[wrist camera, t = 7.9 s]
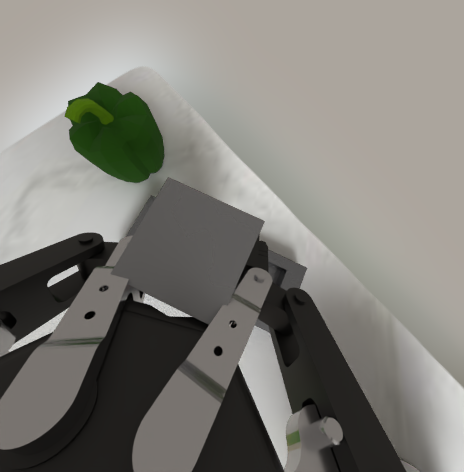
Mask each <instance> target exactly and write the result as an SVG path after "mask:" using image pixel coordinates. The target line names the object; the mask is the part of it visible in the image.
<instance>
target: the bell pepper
mask: <svg viewBox="0 0 464 472" xmlns="http://www.w3.org/2000/svg"><path fill="white" fill-rule="evenodd" d="M65 117H66V118H68V119H70V121H71V123H72V125H73V126H72V128H71V129H70V130H69V135H70V140H71V142H72V144H73V146H74V148H75V150H76V151H77V152H78V153H80V154H81V155H82V156H83V157H85V158H86V159H87V160H89V161H90V162H91V163H93V164H94V165H96V166H97V167H98V168H100V169H101V170H103V171H104V172H106V173H107V174H109V175H111V176H114V177H116V178H118V179H121V180H124V181H126V182H134V183H139V182H141V181H144V180H146V179H148V178H149V175H150V173H155V172H157V171H158V170H159V169H160V168H161V167H162V164H163V159H164V146H163V139H162V135H161V133H160V131H159V128H158V126H157V124H156V122H155V120H154V118H153V115H152V113H151V111H150V109H149V107H148V105H147V104H146V103H145V102H144V101H143V100H142V99H141V98H140V97H139V96H137V95H135V94H133V93H132V92H129V93H127V94H125V95H122V94H121V93H120V92H119V91H118V90H117V89H115V88H112V87H109V86H107V85H104V84H101V83H99V82H98V83H97V84H96V85H95V86H94V87H93V88H92V89H91V90H90V91H89V92H88V93H87V94H86V95H84V96H81V97H78V98H75V99H73V100H70V101H68V107H67V110H66V113H65Z"/></svg>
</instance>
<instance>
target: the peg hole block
mask: <svg viewBox="0 0 464 472" xmlns="http://www.w3.org/2000/svg"><path fill="white" fill-rule="evenodd" d="M155 199H156V197H154V196H152V195H151V196H150V198H149V200H148V201H147V203H146V205H145V206H144V208H143V210H142V211H141V213H140V214H139V216H138V218H137V219H136V221H135V223H134V224H133V226H132V228H131V229H130V231H129V233H128V234H127V236H126V237H128V236H133V235H134V233H135V232H136V230H137V228H138V227H139V225H140V223H141V222H142V220H143V218H144V217H145V215H146V213H147V212H148V210H149V208H150V207H151V205H152V204H153V202H154V200H155ZM268 267H269V274H270V275H271V277H272V281H273V282H274V283H275V284H276V285H277V286H279V287H281V288H283V289H285V290H286V291H287V290H288V289H289V288H300V286H301V283H302V280H303V277H304V275H305V272H306V269H307V268H306V267H304V266H302V265H300V264H298V263H295V262H293V261H291V260H289V259H287V258H285V257H283V256H280V255H278V254H276V253H274V252H272V251H270V250H268ZM235 290H236V287H235V289H234V292H235ZM234 292H233V293H234ZM255 326H257V327H259V328H261V329H264V330H266V331H268V332H270V330H269V326H268V325H267V324H265V323H264V322H262V321H260V320H259V319H257V320H256V323H255Z"/></svg>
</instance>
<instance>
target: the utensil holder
mask: <svg viewBox="0 0 464 472" xmlns="http://www.w3.org/2000/svg"><path fill="white" fill-rule="evenodd" d="M400 461H401V462H402V464H403V466H404V468H405V470H406V472H420V471H419V470H418V469H416V468H415V467H413V466H412V465H410V464H408V463H406V462H404V461H402V460H400Z"/></svg>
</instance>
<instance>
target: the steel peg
mask: <svg viewBox="0 0 464 472" xmlns="http://www.w3.org/2000/svg"><path fill="white" fill-rule="evenodd" d="M264 222H265V221H263V220H261V219H259V218H257V217H254V216H252V215H250V214H248V213H246V212H243V211H241V210H239V209H237V208H235V207H232V206H230V205H228V204H226V203H224V202H221V201H219V200H217V199H215V198H213V197H210V196H208V195H206V194H204V193H202V192H199V191H197V190H195V189H193V188H191V187H189V186H186V185H184V184H182V183H180V182H178V181H175V180H173V179H171V178H169V177H168V179H167V180H166V182H165V184H164V185H163V187H162V189H161V190H160V192H159V194H158V195H157V197H156V199H155V200H154V202H153V204H152V205H151V207H150V208H149V210H148V212H147V213H146V215H145V217H144V218H143V220H142V222H141V223H140V225H139V227H138V228H137V230H136V232H135V233H134V235H133V237H132V238H131V240H130V242H129V243H128V245H127V247H126V248H125V250H124V252H123V253H122V255H121V257H120V258H119V260H118V262H117V263H116V265H115V267H114V268H113V270H112V272H111V273H110V274H111V275H115V276H119V277H122V278H126V279H129V281H128V285H130V286H132V287H134V288H136V289H138V290H140V291H142V292H144V293H146V294H148V295H150V296H152V297H154V298H156V299H158V300H160V301H162V302H164V303H166V304H168V305H170V306H172V307H174V308H176V309H178V310H180V311H182V312H184V313H186V314H188V315H190V316H192V317H194V318H196V319H198V320H200V321H202V322H204V323H206V324H208V325H210V323H211V322H212V320H213V319H214V317H215V316H216V314H217V313H218V311H219V310H220V308H221V307H222V305H226V306H227V305H228V303H229V301H230V298H231V296H232V294H233V292H234V289H235V287H236V285H237V283H238V280H239V278H240V276H241V274H242V271H243V269H244V267H245V265H246V262H247V260H248V258H249V256H250V253H251V251H252V249H253V247H254V244H255V242H256V240H257V238H258V235H259V233H260V231H261V229H262V226H263V224H264Z"/></svg>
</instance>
